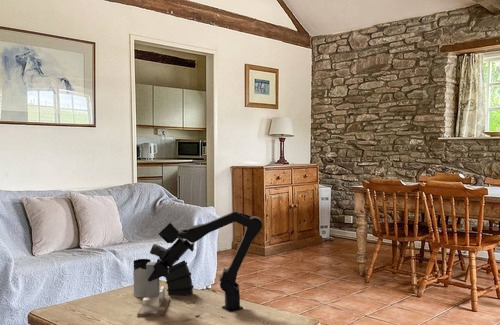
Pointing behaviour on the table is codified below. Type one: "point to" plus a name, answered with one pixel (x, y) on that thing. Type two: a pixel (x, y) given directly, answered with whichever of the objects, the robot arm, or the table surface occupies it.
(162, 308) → the board
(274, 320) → the table surface
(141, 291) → the glass holder
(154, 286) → the block
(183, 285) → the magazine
